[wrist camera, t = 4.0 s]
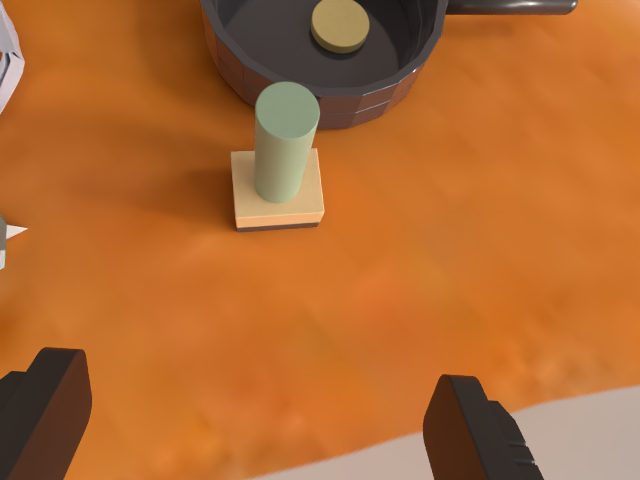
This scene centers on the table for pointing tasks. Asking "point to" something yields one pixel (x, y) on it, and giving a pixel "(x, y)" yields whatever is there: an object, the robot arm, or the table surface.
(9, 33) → the headphones
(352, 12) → the disc
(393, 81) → the pan
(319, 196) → the green peg on base
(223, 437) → the table surface
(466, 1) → the pan handle
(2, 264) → the toy
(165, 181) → the table surface
